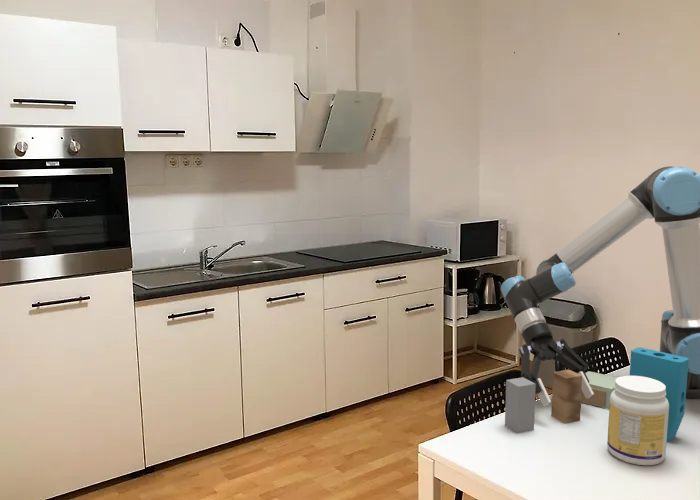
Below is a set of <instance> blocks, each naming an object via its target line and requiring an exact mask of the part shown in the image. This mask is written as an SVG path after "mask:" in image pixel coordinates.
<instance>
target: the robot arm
mask: <svg viewBox="0 0 700 500" xmlns="http://www.w3.org/2000/svg"><path fill="white" fill-rule="evenodd" d="M647 219H649V220H652V219H654V223H655V224H657V225H658V226H660V227H661V230H662V236H663V245H664V251H665V252H664V253H665V258H666V260H665V261H666V266H667V274H668V282H669V283H668V284H669V291H670V297H671V305H672V310H666V311H664V312H663V313H662V315H661V320H660V323H661V325H660V326H661V327H660V338H659V339H660V340H659V342H660V343H659V351H660V352H664V353H668V354H673V355H677V356H682V357H686V358H688V359H689V360H688V373H687V387H686V399H700V174H699V173H697V172H696V171H695V170H693V169H691V168H688V167H684V166H663V167H660V168H658V169H657V170H654V171H653V172H652V173H651V174H650V175H648V176H647V177H646V178H644V179H643V181H641V182H640V183H639V184H638V185H637V186H636V187H634V188H633V189H632V190H630V191H629V193H628V196H627V198H626V199H625V200H623V201H622V202H621V203H620V204H618V205H617V206H616V207H614V208H613V209H612V210H610V211H609V212H608V213H606V215H604V216H602V217H601V218H600V219H599V220H597V221H596V222H595V223H594V224H592V225H591V226H589V227H588V228H587V229H586V230H585V231H583V232H581V233H580V234H579V235H578V236H577V237H575V238H574V239H573V240H572V241H570V242H569V243H568V244H566V245H565V246H564V247H562V248H561V249H560V250H558V251H556V252H555V254H553V255H552V256H551V257H549V258H547V259H544V260H542V261H541V262H540V263H539V264H538V266H537V267H536V273H535V275H534V276H532V277H530V278H528V279H526V278H525V277H523V276H522V275H515V276H514V277H511V276H510V278H507V279H505V280H504V281H503V282H502V284H501V286H500V291H501V293H502V296H503V299H504V302H505V304H506V305H507V307H508V310H509V312H510V313H511V315H512V317H513V319H514V322H515V324H516V326H517V328H518V330H519V332H520V333H521V337H522V339H523V341H524V344H523V345H522V346H521V347H519V349H518V350H519V355H520V356H521V357H520V360H521V361H520V378H522V377H523V378H525V379H527V380H529V381H531V382H533V383H535V384H536V388H535V395H536V394H537V396H538V398H539V400H540V402H541V404H542V406H543V407H546V406H548V405H550V403H552V399H551V398H550V396H549V394H548V391H547V390H546V388H545V386H544V383H543V381H542V379H541V378H540V377H539V378H538V374H539V369H540V366H541V363H542V362H543V361H547V360H548V361H551V360H553V361H555V362H556V361H557V362H558V363H559V364H561V365H563V367H566V369H567V370H571V371H573V372H575V373H577V374H580V375H582V392H583V394H584V396H585V398H586V399H588V398H590V397H591V396H592V395H593V394H594V393H593V391H592V389H591V387H590V385H589V380H588V378H587V376H586V374H585V373H586V372H585V371H586V370H587V369H588V368H589V367H590V366H589V364H588V363H587V362H586V361H585V360H583V358H582V357H580V355H578V353H576V351H574V350H573V349H572V348H571V346H569V345H568V343H567V342H566V340H565V339H563V338H561V339H560V340H559V341H555V339H554V338H553V333H552V331H551V328H550V326H549V324H548V323H547V321H546V318H545V317H544V315H543V313H542V310H541V308H540V307H539V305H540V304H542V303H544V302H546V301H548V300H550V299H552V298H554V297H556V296H558V295H560V294H563V293H565V292H567V291H568V290H571V288H574V287H575V286H576V284H577V281H576V279H575V277H574V276H573V274H574V273H575V272H576V271H578V270H579V269H580V268H581V267H583V266H585V264H587V263H589V262H590V261H591V260H592V259H594V258H595V257H597V256H598V255H599V254H600V253H602V252H603V251H604V250H606V249H607V248H609V247H610V246H611V245H612V244H613V245H614V244H615V242H617V241H618V240H619V239H621V238H622V237H624V236H625V235H626V234H627V233H629V232H631V230H633V229H635V227H637V226H638V225H640V224H641V223H642V222H643V221H645V220H647ZM531 354H532V355H533V358H532V364H531V359H530V357H531V356H530V355H531Z"/></svg>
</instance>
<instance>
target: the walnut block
mask: <svg viewBox="0 0 700 500" xmlns="http://www.w3.org/2000/svg"><path fill="white" fill-rule="evenodd" d="M551 387H552V391H551V409H550V411H551V414H550V415H551V417H552V418H553V419H555V420H557V421H559V422H560V423H563V424H565V425H566V424H570V423H574V422H578V421H579V422H580V421H581V406H582V404H581V403H582V402H581V390H582V375H580V374H577V373H575V372H573V371H571V370H570V369H563V370H558V371H553V372H552V386H551Z"/></svg>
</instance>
